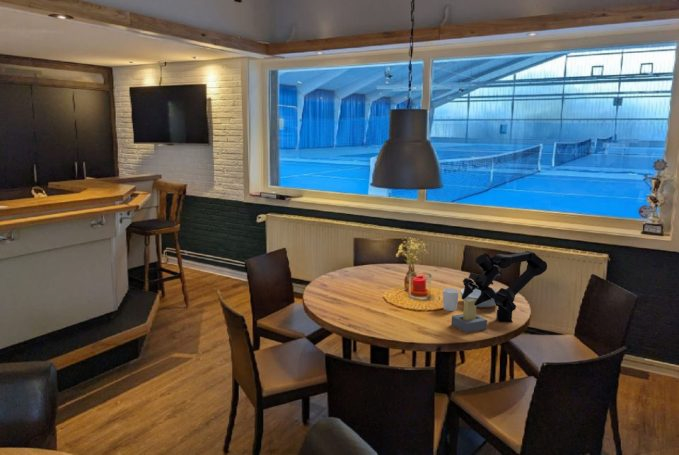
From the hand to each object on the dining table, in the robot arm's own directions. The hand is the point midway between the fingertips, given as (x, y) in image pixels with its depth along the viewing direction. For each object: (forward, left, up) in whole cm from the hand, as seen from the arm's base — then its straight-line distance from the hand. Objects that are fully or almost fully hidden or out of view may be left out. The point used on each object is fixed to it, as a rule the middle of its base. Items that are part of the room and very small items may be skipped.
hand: (468, 302), depth 243 cm
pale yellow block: (-1, -1, -13) cm, 13 cm away
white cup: (+5, -25, -13) cm, 28 cm away
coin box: (-1, -1, -13) cm, 13 cm away
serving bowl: (-12, -34, -13) cm, 38 cm away
